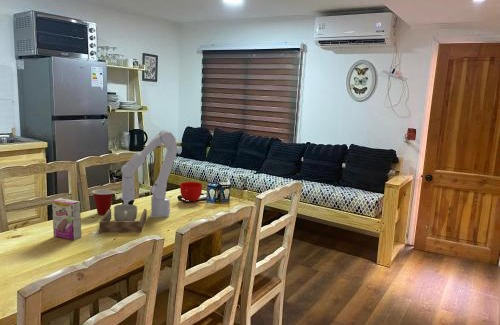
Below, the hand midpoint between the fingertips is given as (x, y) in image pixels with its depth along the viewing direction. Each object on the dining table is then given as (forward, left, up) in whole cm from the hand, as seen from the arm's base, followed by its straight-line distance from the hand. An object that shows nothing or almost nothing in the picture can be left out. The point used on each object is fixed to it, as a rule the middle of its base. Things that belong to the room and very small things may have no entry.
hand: (128, 214), depth 198 cm
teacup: (0, +9, -2) cm, 9 cm away
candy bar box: (+21, +26, -2) cm, 34 cm away
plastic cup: (+13, -7, -2) cm, 15 cm away
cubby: (0, +11, -1) cm, 11 cm away
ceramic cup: (-31, -28, -2) cm, 41 cm away
